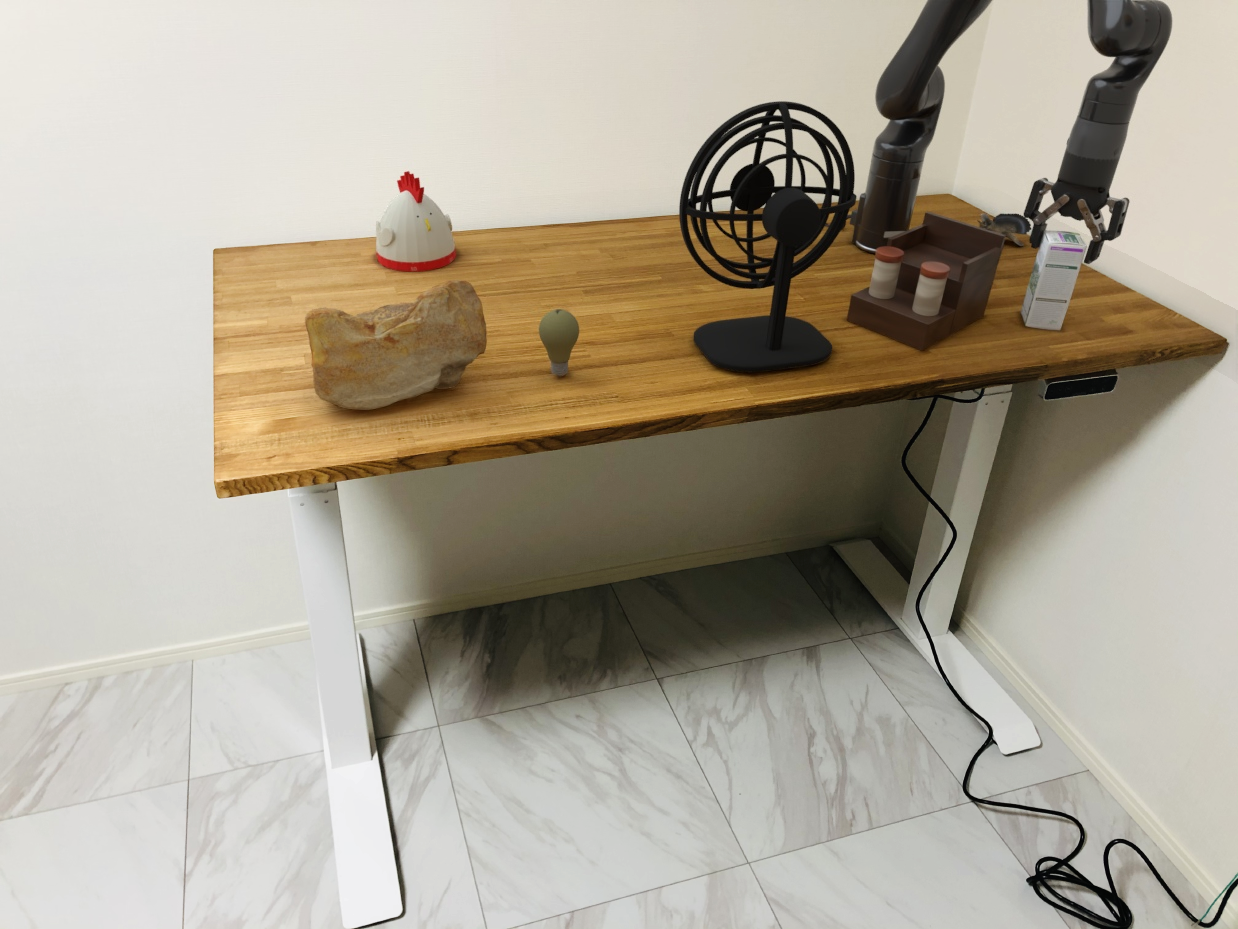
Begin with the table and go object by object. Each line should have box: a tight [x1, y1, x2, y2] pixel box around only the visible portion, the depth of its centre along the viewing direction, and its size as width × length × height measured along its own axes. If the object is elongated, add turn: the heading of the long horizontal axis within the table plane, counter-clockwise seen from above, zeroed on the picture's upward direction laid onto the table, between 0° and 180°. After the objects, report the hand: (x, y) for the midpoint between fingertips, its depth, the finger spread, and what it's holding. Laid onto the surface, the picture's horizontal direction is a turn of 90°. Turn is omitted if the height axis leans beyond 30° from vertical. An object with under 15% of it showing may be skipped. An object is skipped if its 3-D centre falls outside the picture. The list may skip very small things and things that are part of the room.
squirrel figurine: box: [977, 213, 1032, 247], centre depth 180 cm, size 8×7×9 cm
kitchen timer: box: [375, 170, 457, 272], centre depth 163 cm, size 14×14×15 cm
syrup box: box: [1020, 229, 1088, 331], centre depth 149 cm, size 6×6×14 cm
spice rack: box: [846, 211, 1007, 351], centre depth 148 cm, size 19×14×14 cm
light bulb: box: [538, 308, 580, 378], centre depth 130 cm, size 6×6×10 cm
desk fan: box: [678, 100, 857, 373], centre depth 132 cm, size 27×18×35 cm, turn 107°
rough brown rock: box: [304, 279, 488, 411], centre depth 126 cm, size 23×17×15 cm
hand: (1061, 254), depth 146 cm, fingers open, 8 cm apart
